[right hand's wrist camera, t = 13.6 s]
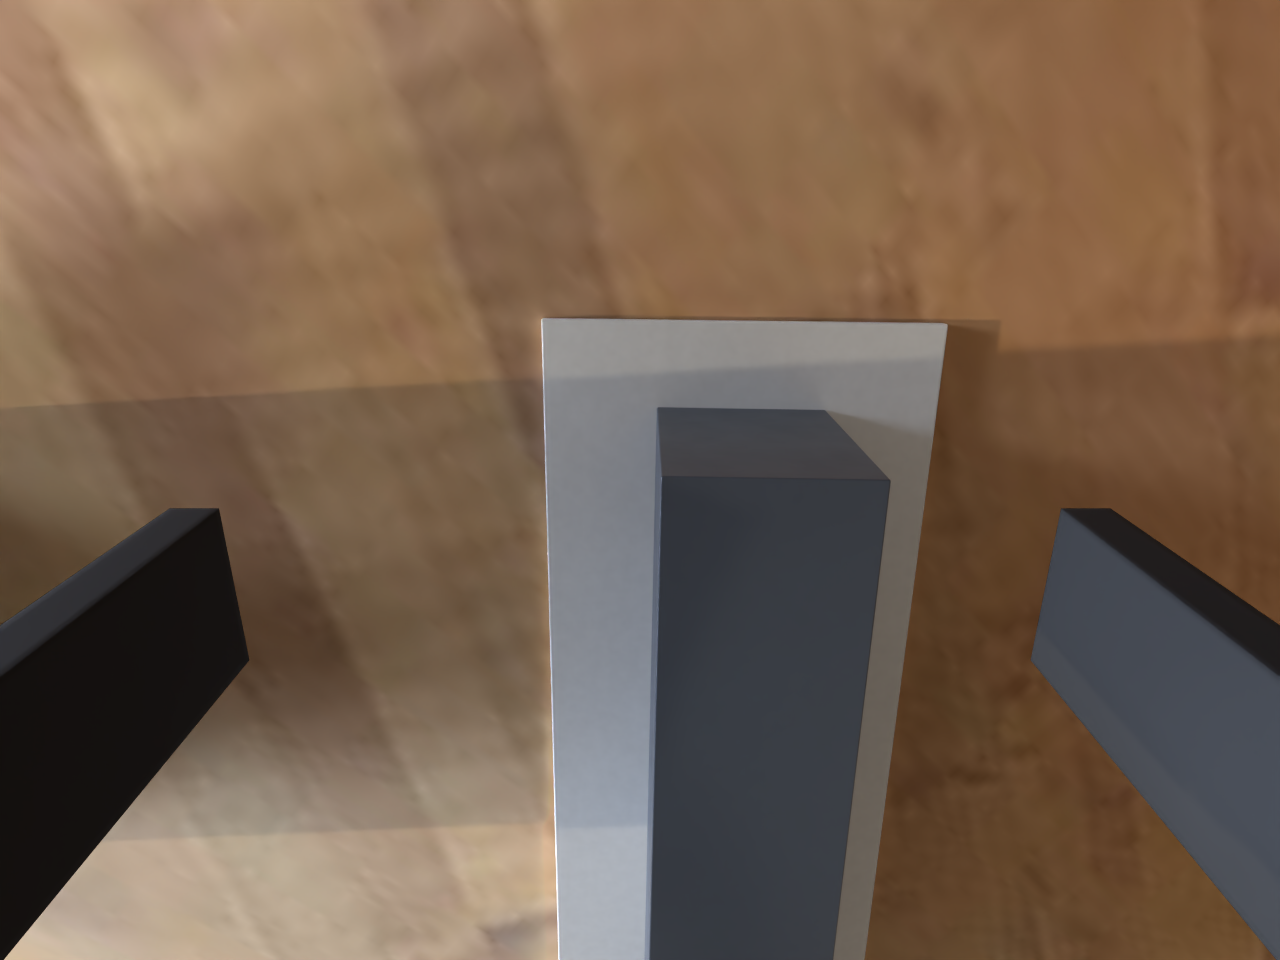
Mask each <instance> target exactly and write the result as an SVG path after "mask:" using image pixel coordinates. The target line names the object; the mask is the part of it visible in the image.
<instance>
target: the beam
mask: <svg viewBox="0 0 1280 960" xmlns="http://www.w3.org/2000/svg"><path fill="white" fill-rule="evenodd" d="M890 484H891V480H890V479H889V478H888V477H887V476H886V475H885V474H884V473H883V472H882V471H881V469H880V468H879V467H878V466H877V465H876V464H875V463H874V462H873V461H872V460H871V459H870V458H869V457H868V456H867V454H866V453H865V452H864V451H863V450H862V449H861V448H860V447H859V446H858V445H857V444H856V443H855V442H854V441H853V439H852V438H851V437H850V436H849V435H848V434H847V433H846V432H845V431H844V430H843V429H842V428H841V427H840V426H839V424H838V423H837V422H836V421H835V420H834V419H833V418H832V417H831V416H830V415H829V414H828V413H827V412H826V411H825V410H796V409H735V408H675V407H658V408H657V421H656V465H655V510H654V555H653V600H652V645H651V690H650V735H649V780H648V825H647V870H646V915H645V960H833V957H834V949H835V941H836V933H837V924H838V916H839V908H840V899H841V891H842V883H843V874H844V866H845V858H846V849H847V841H848V833H849V825H850V816H851V808H852V800H853V791H854V783H855V775H856V766H857V758H858V750H859V742H860V733H861V725H862V717H863V708H864V700H865V692H866V683H867V675H868V667H869V658H870V650H871V642H872V634H873V625H874V617H875V609H876V600H877V592H878V584H879V575H880V567H881V559H882V550H883V542H884V534H885V526H886V517H887V509H888V501H889V492H890Z"/></svg>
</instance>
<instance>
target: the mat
mask: <svg viewBox="0 0 1280 960" xmlns="http://www.w3.org/2000/svg"><path fill="white" fill-rule="evenodd" d="M541 321H542V358H543V395H544V432H545V469H546V506H547V543H548V580H549V617H550V654H551V691H552V728H553V765H554V802H555V839H556V876H557V913H558V950H559V960H645V915H646V870H647V825H648V780H649V735H650V690H651V645H652V600H653V555H654V510H655V465H656V421H657V408H658V407H675V408H735V409H796V410H825V411H826V412H827V413H828V414H829V415H830V416H831V417H832V418H833V419H834V420H835V421H836V422H837V423H838V424H839V426H840V427H841V428H842V429H843V430H844V431H845V432H846V433H847V434H848V435H849V436H850V437H851V438H852V439H853V441H854V442H855V443H856V444H857V445H858V446H859V447H860V448H861V449H862V450H863V451H864V452H865V453H866V454H867V456H868V457H869V458H870V459H871V460H872V461H873V462H874V463H875V464H876V465H877V466H878V467H879V468H880V469H881V471H882V472H883V473H884V474H885V475H886V476H887V477H888V478H889V479H890V480H891V484H890V492H889V501H888V509H887V517H886V526H885V534H884V542H883V550H882V559H881V567H880V575H879V584H878V592H877V600H876V609H875V617H874V625H873V634H872V642H871V650H870V658H869V667H868V675H867V683H866V692H865V700H864V708H863V717H862V725H861V733H860V742H859V750H858V758H857V766H856V775H855V783H854V791H853V800H852V808H851V816H850V825H849V833H848V841H847V849H846V858H845V866H844V874H843V883H842V891H841V899H840V908H839V916H838V924H837V933H836V941H835V949H834V957H833V960H864V959H865V952H866V944H867V936H868V929H869V921H870V914H871V906H872V898H873V891H874V883H875V876H876V868H877V861H878V853H879V845H880V838H881V830H882V823H883V815H884V807H885V800H886V792H887V785H888V777H889V770H890V762H891V754H892V747H893V739H894V732H895V724H896V716H897V709H898V701H899V694H900V686H901V679H902V671H903V663H904V656H905V648H906V641H907V633H908V625H909V618H910V610H911V603H912V595H913V588H914V580H915V572H916V565H917V557H918V550H919V542H920V534H921V527H922V519H923V512H924V504H925V497H926V489H927V481H928V474H929V466H930V459H931V451H932V443H933V436H934V428H935V421H936V413H937V406H938V398H939V390H940V383H941V375H942V368H943V360H944V352H945V345H946V337H947V330H948V324H945V323H899V322H819V321H740V320H661V319H581V318H543V319H542V320H541Z"/></svg>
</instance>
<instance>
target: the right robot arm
mask: <svg viewBox="0 0 1280 960" xmlns="http://www.w3.org/2000/svg"><path fill="white" fill-rule="evenodd" d="M248 661H249V656H248V651H247V646H246V641H245V636H244V631H243V626H242V621H241V616H240V611H239V606H238V601H237V596H236V591H235V586H234V582H233V577H232V572H231V567H230V562H229V557H228V552H227V547H226V542H225V537H224V532H223V527H222V522H221V517H220V512H219V508H170V509H168V510H167V511H165V512H164V513H162V514H161V515H159V516H158V517H157V518H155V519H154V520H152V521H151V522H149V523H148V524H146V525H145V526H144V527H142V528H141V529H139V530H138V531H136V532H135V533H133V534H132V535H130V536H129V537H128V538H126V539H125V540H123V541H122V542H120V543H119V544H117V545H116V546H115V547H113V548H112V549H110V550H109V551H107V552H106V553H104V554H103V555H101V556H100V557H99V558H97V559H96V560H94V561H93V562H91V563H90V564H88V565H87V566H86V567H84V568H83V569H81V570H80V571H78V572H77V573H75V574H74V575H73V576H71V577H70V578H68V579H67V580H65V581H64V582H62V583H61V584H59V585H58V586H57V587H55V588H54V589H52V590H51V591H49V592H48V593H46V594H45V595H44V596H42V597H41V598H39V599H38V600H36V601H35V602H33V603H32V604H31V605H29V606H28V607H26V608H25V609H23V610H22V611H20V612H19V613H17V614H16V615H15V616H13V617H12V618H10V619H9V620H7V621H6V622H4V623H3V624H2V625H0V960H4V959H5V957H6V956H7V955H8V954H9V953H10V951H11V950H12V949H13V948H14V946H15V945H16V944H17V943H18V942H19V940H20V939H21V938H22V937H23V935H24V934H25V933H26V932H27V931H28V929H29V928H30V927H31V926H32V925H33V923H34V922H35V921H36V920H37V918H38V917H39V916H40V915H41V914H42V912H43V911H44V910H45V909H46V907H47V906H48V905H49V904H50V903H51V901H52V900H53V899H54V898H55V896H56V895H57V894H58V893H59V892H60V890H61V889H62V888H63V887H64V886H65V884H66V883H67V882H68V881H69V879H70V878H71V877H72V876H73V875H74V873H75V872H76V871H77V870H78V868H79V867H80V866H81V865H82V864H83V862H84V861H85V860H86V859H87V857H88V856H89V855H90V854H91V853H92V851H93V850H94V849H95V848H96V846H97V845H98V844H99V843H100V842H101V840H102V839H103V838H104V837H105V836H106V834H107V833H108V832H109V831H110V829H111V828H112V827H113V826H114V825H115V823H116V822H117V821H118V820H119V818H120V817H121V816H122V815H123V814H124V812H125V811H126V810H127V809H128V807H129V806H130V805H131V804H132V803H133V801H134V800H135V799H136V798H137V796H138V795H139V794H140V793H141V792H142V790H143V789H144V788H145V787H146V786H147V784H148V783H149V782H150V781H151V779H152V778H153V777H154V776H155V775H156V773H157V772H158V771H159V770H160V768H161V767H162V766H163V765H164V764H165V762H166V761H167V760H168V759H169V757H170V756H171V755H172V754H173V753H174V751H175V750H176V749H177V748H178V747H179V745H180V744H181V743H182V742H183V740H184V739H185V738H186V737H187V736H188V734H189V733H190V732H191V731H192V729H193V728H194V727H195V726H196V725H197V723H198V722H199V721H200V720H201V718H202V717H203V716H204V715H205V714H206V712H207V711H208V710H209V709H210V707H211V706H212V705H213V704H214V703H215V701H216V700H217V699H218V698H219V697H220V695H221V694H222V693H223V692H224V690H225V689H226V688H227V687H228V686H229V684H230V683H231V682H232V681H233V679H234V678H235V677H236V676H237V675H238V673H239V672H240V671H241V670H242V668H243V667H244V666H245V665H246V664H247V662H248ZM1031 661H1032V662H1033V664H1034V665H1035V666H1036V667H1037V668H1038V670H1039V671H1040V672H1041V673H1042V675H1043V676H1044V677H1045V678H1046V679H1047V681H1048V682H1049V683H1050V684H1051V686H1052V687H1053V688H1054V689H1055V690H1056V692H1057V693H1058V694H1059V695H1060V697H1061V698H1062V699H1063V700H1064V701H1065V703H1066V704H1067V705H1068V706H1069V707H1070V709H1071V710H1072V711H1073V712H1074V714H1075V715H1076V716H1077V717H1078V718H1079V720H1080V721H1081V722H1082V723H1083V725H1084V726H1085V727H1086V728H1087V729H1088V731H1089V732H1090V733H1091V734H1092V736H1093V737H1094V738H1095V739H1096V740H1097V742H1098V743H1099V744H1100V745H1101V747H1102V748H1103V749H1104V750H1105V751H1106V753H1107V754H1108V755H1109V756H1110V757H1111V759H1112V760H1113V761H1114V762H1115V764H1116V765H1117V766H1118V767H1119V768H1120V770H1121V771H1122V772H1123V773H1124V775H1125V776H1126V777H1127V778H1128V779H1129V781H1130V782H1131V783H1132V784H1133V786H1134V787H1135V788H1136V789H1137V790H1138V792H1139V793H1140V794H1141V795H1142V796H1143V798H1144V799H1145V800H1146V801H1147V803H1148V804H1149V805H1150V806H1151V807H1152V809H1153V810H1154V811H1155V812H1156V814H1157V815H1158V816H1159V817H1160V818H1161V820H1162V821H1163V822H1164V823H1165V825H1166V826H1167V827H1168V828H1169V829H1170V831H1171V832H1172V833H1173V834H1174V836H1175V837H1176V838H1177V839H1178V840H1179V842H1180V843H1181V844H1182V845H1183V846H1184V848H1185V849H1186V850H1187V851H1188V853H1189V854H1190V855H1191V856H1192V857H1193V859H1194V860H1195V861H1196V862H1197V864H1198V865H1199V866H1200V867H1201V868H1202V870H1203V871H1204V872H1205V873H1206V875H1207V876H1208V877H1209V878H1210V879H1211V881H1212V882H1213V883H1214V884H1215V886H1216V887H1217V888H1218V889H1219V890H1220V892H1221V893H1222V894H1223V895H1224V896H1225V898H1226V899H1227V900H1228V901H1229V903H1230V904H1231V905H1232V906H1233V907H1234V909H1235V910H1236V911H1237V912H1238V914H1239V915H1240V916H1241V917H1242V918H1243V920H1244V921H1245V922H1246V923H1247V925H1248V926H1249V927H1250V928H1251V929H1252V931H1253V932H1254V933H1255V934H1256V935H1257V937H1258V938H1259V939H1260V940H1261V942H1262V943H1263V944H1264V945H1265V946H1266V948H1267V949H1268V950H1269V951H1270V953H1271V954H1272V955H1273V956H1274V957H1275V959H1276V960H1280V625H1278V624H1277V623H1276V622H1274V621H1273V620H1271V619H1270V618H1268V617H1267V616H1265V615H1264V614H1263V613H1261V612H1260V611H1258V610H1257V609H1255V608H1254V607H1252V606H1251V605H1249V604H1248V603H1247V602H1245V601H1244V600H1242V599H1241V598H1239V597H1238V596H1236V595H1235V594H1234V593H1232V592H1231V591H1229V590H1228V589H1226V588H1225V587H1223V586H1222V585H1221V584H1219V583H1218V582H1216V581H1215V580H1213V579H1212V578H1210V577H1209V576H1207V575H1206V574H1205V573H1203V572H1202V571H1200V570H1199V569H1197V568H1196V567H1194V566H1193V565H1192V564H1190V563H1189V562H1187V561H1186V560H1184V559H1183V558H1181V557H1180V556H1178V555H1177V554H1176V553H1174V552H1173V551H1171V550H1170V549H1168V548H1167V547H1165V546H1164V545H1163V544H1161V543H1160V542H1158V541H1157V540H1155V539H1154V538H1152V537H1151V536H1150V535H1148V534H1147V533H1145V532H1144V531H1142V530H1141V529H1139V528H1138V527H1136V526H1135V525H1134V524H1132V523H1131V522H1129V521H1128V520H1126V519H1125V518H1123V517H1122V516H1121V515H1119V514H1118V513H1116V512H1115V511H1113V510H1112V509H1110V508H1061V512H1060V517H1059V522H1058V527H1057V532H1056V537H1055V542H1054V547H1053V552H1052V557H1051V562H1050V567H1049V572H1048V577H1047V582H1046V586H1045V591H1044V596H1043V601H1042V606H1041V611H1040V616H1039V621H1038V626H1037V631H1036V636H1035V641H1034V646H1033V651H1032V656H1031Z"/></svg>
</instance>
